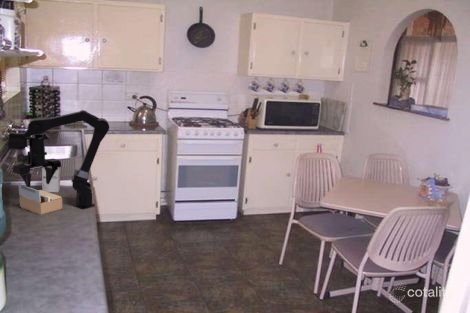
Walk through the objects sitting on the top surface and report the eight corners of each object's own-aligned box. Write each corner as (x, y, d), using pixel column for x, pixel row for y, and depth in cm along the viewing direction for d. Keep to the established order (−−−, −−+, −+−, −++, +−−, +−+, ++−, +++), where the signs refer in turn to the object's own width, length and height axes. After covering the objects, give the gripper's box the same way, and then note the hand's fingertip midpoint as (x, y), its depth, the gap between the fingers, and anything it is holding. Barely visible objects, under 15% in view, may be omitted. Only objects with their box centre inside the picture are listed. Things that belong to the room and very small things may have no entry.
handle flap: (39, 191, 174) (38, 191, 174) (40, 202, 175) (39, 202, 175) (19, 183, 181) (17, 184, 180) (20, 194, 182) (18, 195, 182)
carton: (62, 209, 185) (62, 194, 183) (40, 215, 176) (40, 199, 175) (41, 201, 192) (41, 187, 190) (19, 207, 183) (19, 192, 182)
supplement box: (41, 192, 204) (41, 166, 201) (44, 188, 211) (43, 162, 208) (58, 192, 206) (58, 166, 203) (60, 187, 213) (60, 162, 210)
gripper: (45, 143, 191) (45, 177, 195) (3, 149, 175) (5, 186, 179) (61, 147, 185) (62, 183, 189) (20, 154, 170) (21, 192, 173)
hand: (38, 186), depth 183 cm, fingers open, 8 cm apart
